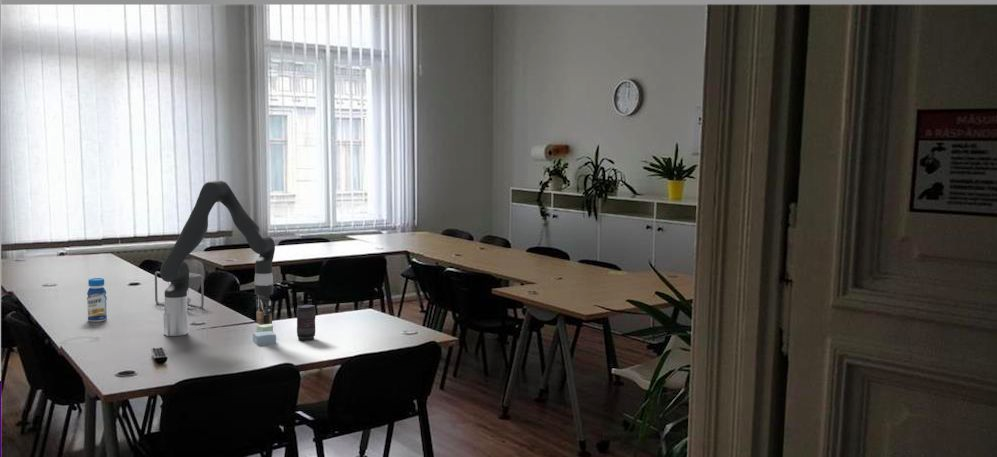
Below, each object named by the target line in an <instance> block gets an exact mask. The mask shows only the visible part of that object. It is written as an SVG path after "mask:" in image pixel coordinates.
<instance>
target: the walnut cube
mask: <svg viewBox="0 0 997 457" xmlns="http://www.w3.org/2000/svg"><path fill="white" fill-rule="evenodd" d="M255 313H256V314H255V316H256V324H258V325H265V323H264V312H263V311H258V310H256V312H255ZM272 324H273V313H272V314H270V315H269V323H268V325H272Z"/></svg>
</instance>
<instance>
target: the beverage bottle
mask: <svg viewBox="0 0 997 457" xmlns="http://www.w3.org/2000/svg"><path fill="white" fill-rule="evenodd" d="M87 283H88V287H89V288H88V290H87V292H86V295H87V297H86V301H87V302H86V303H87V321H88V322H90V323H92V322H93V323H96V322H97V323H99V322H104V321H107V319H108V314H107V313H108V312H107V301H108V297H107V291H106V289H105V288H104V286H105V278H104V277H94V278H89V279H88V281H87Z"/></svg>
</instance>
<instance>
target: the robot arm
mask: <svg viewBox="0 0 997 457" xmlns="http://www.w3.org/2000/svg"><path fill="white" fill-rule="evenodd" d="M216 203H221V204H222V205H223V206H225V208H226V209H227V210H228V212H229V213H230V215H231V219H232V222H233V224H234V225H235V228H237V229H238V231H240V233H241V234H242V235H243V236H244V237H245V240H246V242H247V244H248V246H249V247H250V249H251V250H252V251H253V252H254V253H255V254H258V259H256V260H255V263H254V267H255V268H254V294H255V295H256V296H255V304H256V311H263V312H264V323H265V324H268V323H269V315H270V314H272V315H273V304H274V303H273V302H274V301H273V300H271V299H270V296H271V295H273V294H274V279H273V278H274V275H273V260H274V257H275V256H274V255H275V250H276V244H275V243H276V242H275V241H274V239H273V238H272V237H270V236H268V235H267V236H261V235H260V228H259V226H258V224H257V223H256V222H255V221H254V220H253V219H252V217H251V216H250V215H249V213H247V212H246V210H245V209H244V208H243V206H242V205H241V202H240V201H239V200H238V198H237V196H236V195H235V193H234V192H233V190H232V189H231V187H230V186H229V184H228V183H227V182H225V180H224V181H223V180H211V181H210V180H209V181H206V182H205V183H204V184H203V185H202V188H201V189H200V191H199V194H198V197H197V199H196V202H195V205H194V207H193V209H192V211H191V212H190V215H189V217H188V219H187V220H186V222H185V224H184V226H183V228H182V230H181V232H180V233H179V236H178V238H177V239H176V242H175V243H174V245H173V247H172V249H171V251H170V252H169V253H168V255H167V257H166V258H165V260H164V261H163V263H162V265H161V267H160V270H159V272H160V274H159V275H160V276H159V277H160V278H161V279H162V281H164V282H166V283H170V284H169V285H168V287H167V288H165V290H164V302H165V303H164V304H165V306H164V312H163V334H164V335H165V336H166V337H179V336H185V335H187V334H188V331H189V330H188V310H187V309H188V305H187V296H188V290H189V289H190V286H189V284H190V275H189V272H190V268H189V265H188V263H187V262H186V261H185V260H186V258H187V257H188V256H189V255H190V254H191V253H192V252H193V251H194V250H196V248H197V247H198V246H200V244H201V243H202V241H203V239H204V237H206V236H205V235H206V233H207V231H208V228H209V215H210V212H211V210H212V209H213V207H214V206H215V204H216ZM268 325H269V324H268Z"/></svg>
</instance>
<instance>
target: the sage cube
mask: <svg viewBox="0 0 997 457" xmlns="http://www.w3.org/2000/svg"><path fill="white" fill-rule="evenodd" d="M266 331H272V332H273V333H274V325H272V324H265V325H260V324H258V325H256V332H266Z"/></svg>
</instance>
